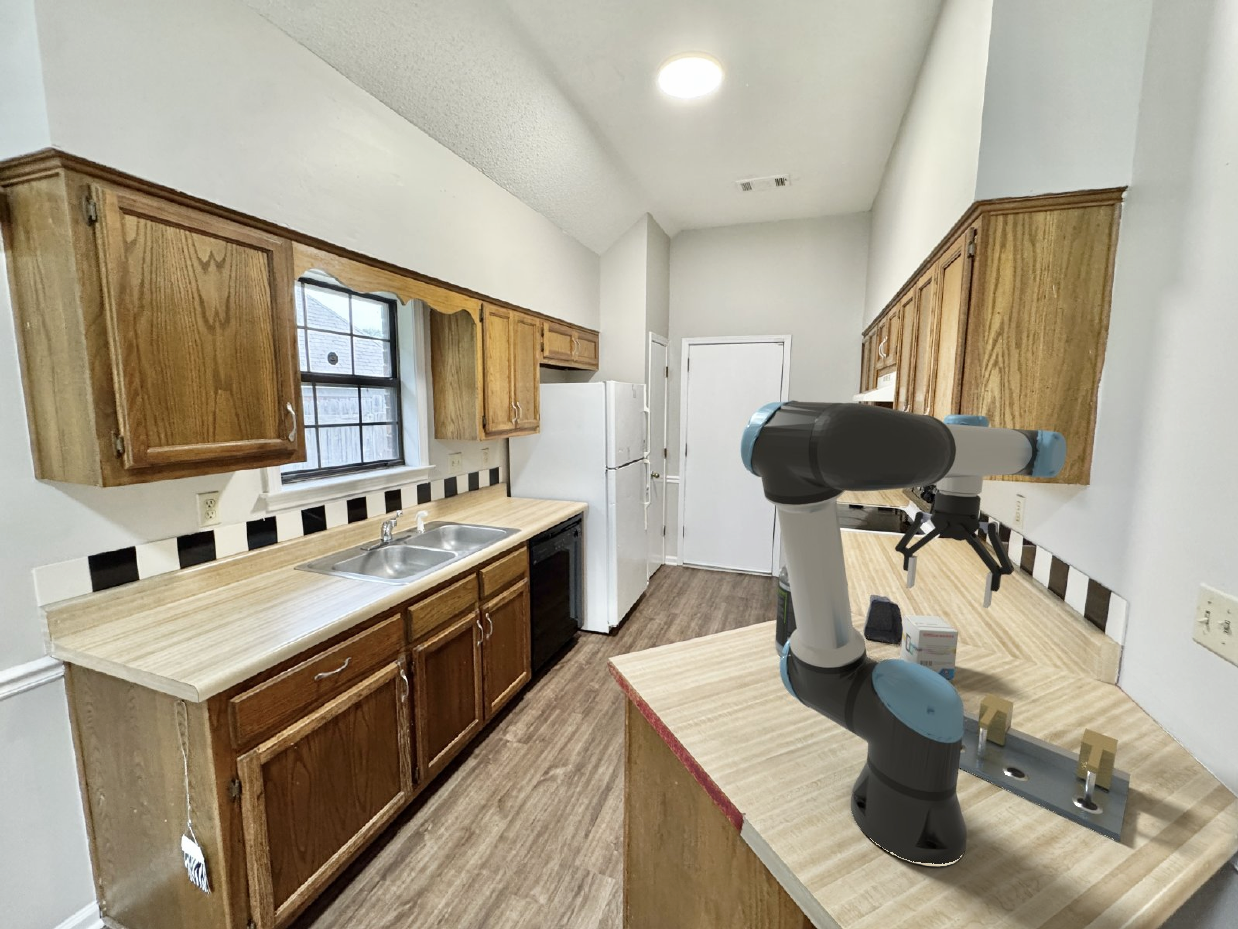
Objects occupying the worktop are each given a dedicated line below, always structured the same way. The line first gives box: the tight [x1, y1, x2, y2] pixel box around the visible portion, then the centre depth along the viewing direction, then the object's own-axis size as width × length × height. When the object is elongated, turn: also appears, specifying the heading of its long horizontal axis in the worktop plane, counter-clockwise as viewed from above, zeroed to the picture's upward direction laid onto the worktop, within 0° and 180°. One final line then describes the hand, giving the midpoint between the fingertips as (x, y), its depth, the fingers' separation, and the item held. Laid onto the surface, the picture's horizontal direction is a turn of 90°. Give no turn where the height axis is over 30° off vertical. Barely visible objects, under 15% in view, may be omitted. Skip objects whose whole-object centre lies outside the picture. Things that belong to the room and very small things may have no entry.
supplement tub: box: [774, 564, 849, 658], centre depth 126 cm, size 16×16×26 cm
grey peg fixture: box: [959, 709, 1131, 843], centre depth 90 cm, size 16×26×8 cm, turn 42°
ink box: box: [900, 614, 959, 680], centre depth 122 cm, size 9×8×12 cm
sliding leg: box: [977, 693, 1014, 756], centre depth 94 cm, size 12×4×6 cm, turn 132°
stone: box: [862, 594, 903, 645], centre depth 139 cm, size 12×10×10 cm
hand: (946, 596), depth 106 cm, fingers open, 13 cm apart
